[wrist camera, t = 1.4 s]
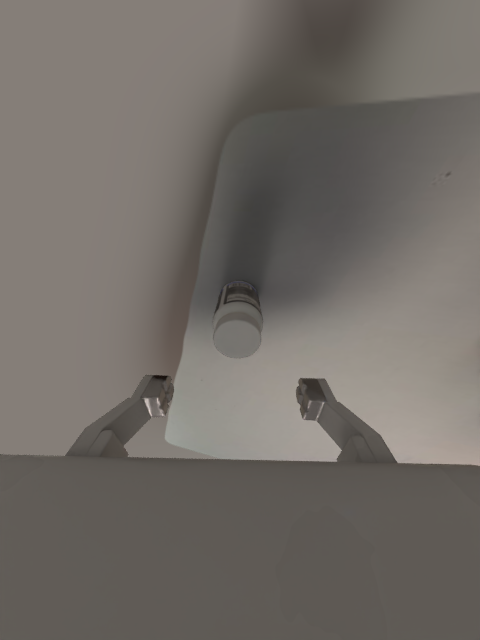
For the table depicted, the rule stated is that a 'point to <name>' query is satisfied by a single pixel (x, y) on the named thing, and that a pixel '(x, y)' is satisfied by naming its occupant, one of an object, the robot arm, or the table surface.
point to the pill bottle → (237, 320)
